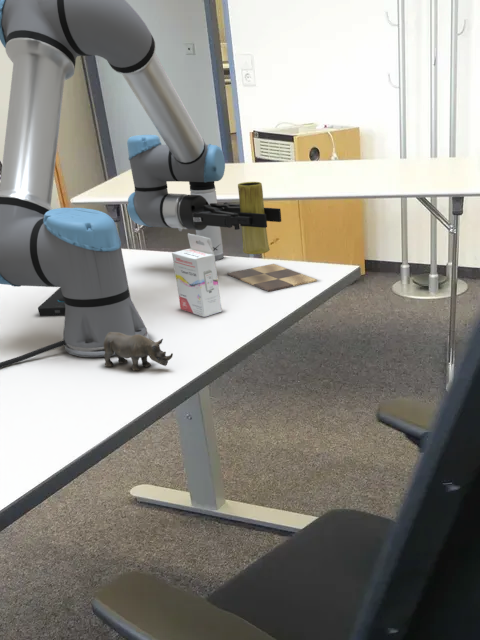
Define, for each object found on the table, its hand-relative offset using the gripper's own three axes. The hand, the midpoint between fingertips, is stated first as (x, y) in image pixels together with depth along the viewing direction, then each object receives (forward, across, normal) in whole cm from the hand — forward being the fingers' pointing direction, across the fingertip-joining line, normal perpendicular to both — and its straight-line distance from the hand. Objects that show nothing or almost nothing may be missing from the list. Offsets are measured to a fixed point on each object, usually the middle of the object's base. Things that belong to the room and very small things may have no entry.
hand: (272, 218), depth 168 cm
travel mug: (-29, -14, -14) cm, 35 cm away
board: (-4, -3, -14) cm, 15 cm away
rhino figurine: (+5, +56, -14) cm, 58 cm away
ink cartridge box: (-4, +25, -14) cm, 29 cm away
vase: (-5, 0, -8) cm, 9 cm away
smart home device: (-36, +29, -14) cm, 48 cm away
